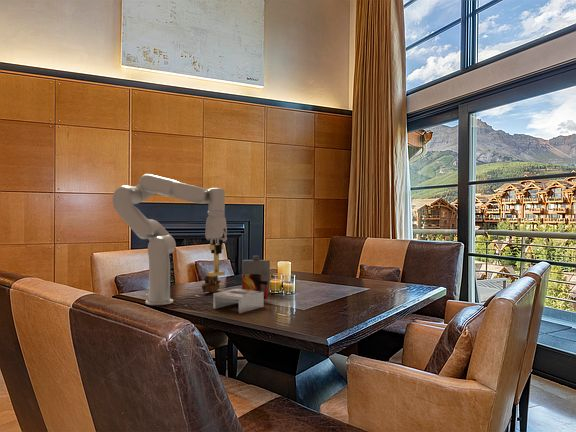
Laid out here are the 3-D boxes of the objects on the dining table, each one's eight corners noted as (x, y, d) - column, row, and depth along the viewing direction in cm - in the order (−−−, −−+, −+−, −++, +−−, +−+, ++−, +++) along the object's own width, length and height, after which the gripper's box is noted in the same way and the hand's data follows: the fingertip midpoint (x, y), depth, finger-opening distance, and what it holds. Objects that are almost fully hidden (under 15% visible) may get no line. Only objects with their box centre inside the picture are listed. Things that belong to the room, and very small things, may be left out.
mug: (267, 302, 201) (267, 277, 201) (239, 301, 204) (239, 276, 204) (271, 298, 211) (271, 274, 211) (244, 297, 213) (245, 273, 213)
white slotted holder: (213, 308, 186) (213, 293, 186) (236, 302, 200) (236, 288, 200) (240, 313, 177) (240, 297, 177) (263, 306, 191) (263, 291, 191)
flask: (241, 293, 224) (241, 256, 224) (242, 291, 229) (243, 255, 230) (269, 293, 223) (269, 256, 223) (269, 291, 229) (270, 255, 229)
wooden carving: (208, 295, 218) (208, 276, 218) (200, 294, 219) (200, 275, 219) (222, 290, 234) (222, 272, 234) (214, 289, 235) (214, 271, 235)
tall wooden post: (207, 275, 194) (207, 244, 194) (219, 274, 201) (219, 244, 201) (212, 276, 192) (213, 245, 192) (224, 274, 199) (225, 244, 199)
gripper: (198, 214, 198) (198, 253, 198) (223, 214, 189) (223, 254, 189) (209, 214, 204) (209, 252, 204) (234, 214, 195) (234, 253, 195)
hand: (216, 253), depth 196 cm, fingers closed on tall wooden post, 2 cm apart
